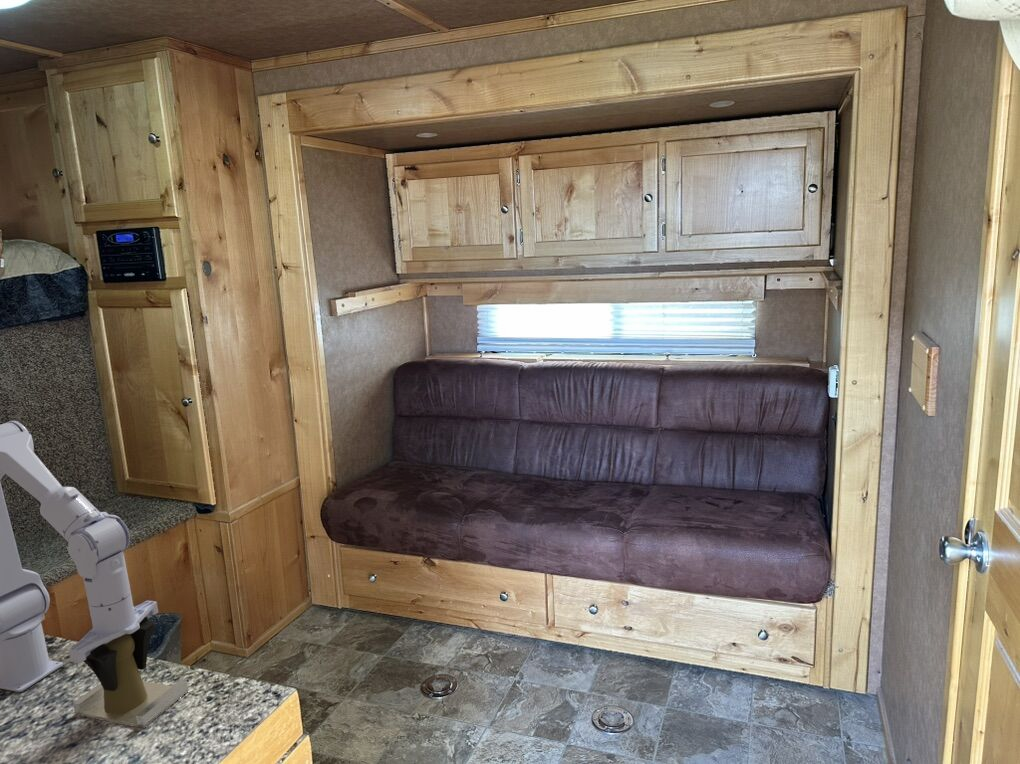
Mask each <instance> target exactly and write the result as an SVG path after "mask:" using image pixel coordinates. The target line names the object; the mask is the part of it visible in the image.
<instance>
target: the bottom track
mask: <svg viewBox="0 0 1020 764" xmlns="http://www.w3.org/2000/svg"><path fill="white" fill-rule="evenodd" d="M142 681H143V684H144V687H145V689H146V692H147V698H146V700H145V701H144V702H143V703H142V704H141V705H139V706H138V707H136V708H134V709H133V710H130V711H127V712H124V713H120V714H110V713H107V712H106V711H105V709H104V689H103V687H102V685H101V683H99V684H98V685H97V686H95V687H94V688H92V689H91V690H89V691H88V692H87V693H85V694H84V695H82V696H81V697H80V698H78V699H77V700H75V701H74V702H73V703H72V704H73V709H74V714H76V715H75V716H81V717H84V716H86V718H89V717H90V719H94V718H96V719H95V720H99V719H101V721H104V720H106V721H105V722H109V721H111V723H114V722H115V723H114V724H119V723H121V724H120V725H124V724H127V725H126V726H129V725H133V726H132V727H134V726H135V728H139V727H141V728H140V729H146V728H147V727H148V726H149V725H151V724H152V723H153V722H154V721H155V720H156V719H158V718H159V717H160V716H161V715H162V714H164V713H165V712H166V711H167V710H169V709H170V708H171V707H172V706H173V705H175V704H176V703H177V702H178V701H179V700H181V699H180V697H182V696H183V695H184V694H185V693H187V692H188V691H190V690H189V686H188V685H189V684H188V680H186V679H179V680H178V681H177V682H175V683H174V684H173V685H168V684H161V683H156V682H150V681H145V680H142ZM188 693H189V692H188ZM188 693H187V694H188ZM185 695H186V694H185ZM185 695H184V696H185ZM184 696H183V697H184ZM183 697H182V698H183ZM177 700H178V701H177ZM176 701H177V702H176ZM175 702H176V703H175ZM174 703H175V704H174ZM172 704H173V705H172ZM171 705H172V706H171ZM170 706H171V707H170ZM169 707H170V708H169ZM168 708H169V709H168ZM164 711H165V712H164ZM163 712H164V713H163ZM159 715H160V716H159ZM158 716H159V717H158ZM157 717H158V718H157ZM155 718H156V719H155ZM154 719H155V720H154ZM153 720H154V721H153ZM152 721H153V722H152ZM151 722H152V723H151ZM147 725H148V726H147ZM136 726H137V727H136ZM146 726H147V727H146ZM145 727H146V728H145Z"/></svg>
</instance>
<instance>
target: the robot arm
mask: <svg viewBox="0 0 1020 764" xmlns="http://www.w3.org/2000/svg"><path fill="white" fill-rule="evenodd" d="M34 450H35V447H34V441H33V436H32V434H31V433H29V430H28V429H27V428H26V426H24V424H22V423H21V422H19V421H18V420H9V421H6V422H5V423H2V424H0V481H1V480H2V478H3V477H4V476H5V475H6V476H7V477H8V478H10V479H11V480H13V481H14V482H15V483H16V484H18V485H19V486H20V487H21V488H22V489H24V490H25V491H26V492H27V493H29V495H31V496H32V497H33V498H35V499H36V500H37V501H38V502H40V507H39V513H40V515H41V516H42V517H43V519H44V520H45V521H47V523H49V524H50V526H52V527H53V529H55V531H57V533H59V535H60V536H62V537H63V539H65V540H66V542H68V544H67V546H66V549H67V553H68V555H69V556H70V557H69V558H71V560H72V561H73V562H74V564H75V567H76V571H77V574H78V575H79V577H81V578H82V579H83V584H84V588H85V593H86V598H87V603H88V608H89V614H90V618H91V625H92V628H91V629H90V630H89V631H88V632H87V633H86V634H85V635H84V636H83V637H82V638H81V639H80V640H79V641H78V642H77V643H76V644H74V645H73V646H72V647H70V648H69V649H68V655H69V659H70V662H72V663H78V664H82V663H84V664H86V666H88V668H90V670H91V671H92V672H93V674H94V675H95V676H96V678H97V679H98V681H99V684H101V685H102V687H103V689H104V690H109V691H115V690H116V689H117V687H118V682H117V676H116V655H117V651H115V650H109V648H108V647H106V645H105V644H107V643H108V642H110V641H111V640H113V639H115V638H118V637H120V636H122V635H124V634H130V635H131V636H132V637H133V639H134V642H135V649H134V651H133V653H132V654H133V656H134V659H135V662H136V665H137V667H138V670H141V671H142V670H146V669H147V661H148V660H147V659H148V651H149V646H150V643H151V639H152V636H153V633H154V631H155V629H156V622H155V621H154V620H149V619H148V617H150V616H154V615H157V614H158V613H159V608H158V602H157V601H154V600H146V601H143V602H142V603H140V604H138V605H135V606H134V603H133V602H134V601H133V597H132V596H133V595H132V590H131V584H130V579H129V574H128V569H127V564H126V560H125V559H126V558H125V552H124V550H127V549H128V548H129V546H130V543H131V535H130V534H131V533H130V530H129V528H128V526H127V524H126V523H125V522H124V521H123V520H122V519H121V517H119V516H118V515H115V514H110V513H108V512H107V511H100V510H99V509H98V508H96V507H95V506H94V505H93V504H92V502H90V501H89V500H88V498H86V497H85V496H84V495H83V494H82V493H81V492H80V491H79V490H78V489H77V488H76V487H74V486H62V484H61V483H60V482H59V480H57V478H56V477H55V475H53V474H52V472H51V471H50V470H49V469H48V468H47V467H46V465H45V464H44V463H43V462H42V460H41V459H40V458H39V457H38V455H36V453H35V451H34ZM9 515H10V514H9V511H8V507H7V504H6V499H5V496H4V491H3V488H2V483H1V482H0V689H2V690H7V691H11V692H12V691H13V692H16V693H22V692H24V691H25V690H27V689H28V688H29V687H32V686H33V685H34V684H36V683H37V682H39V681H41V680H42V679H44V678H45V677H47V676H48V675H50V674H52V673H53V672H55V671H57V670H58V669H59V668H61V667H63V665H64V664H63V662H62V661H57V660H56V661H55V660H51V659H50V657H49V653H48V648H47V644H46V639H45V633H44V629H43V624H42V621H44V620H45V619H46V618H45V613H47V611H48V610H49V608H50V602H51V600H50V599H51V598H50V594H49V591H48V590H47V588H46V587H45V585H44V583H43V581H42V579H41V576H40V574H39V573H37V571H33V570H30V569H26V568H25V569H24V568H23V566H22V562H21V559H20V555H19V551H18V547H17V542H16V539H15V534H14V531H13V526H12V523H11V519H10V516H9Z"/></svg>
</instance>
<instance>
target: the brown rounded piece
mask: <svg viewBox="0 0 1020 764" xmlns="http://www.w3.org/2000/svg"><path fill="white" fill-rule="evenodd" d="M105 645H106V647H108V648H109V650H115V651H117V655H116V676H117V682H118V687H117V689H116V690H115V691H109V690H104V709H105V711H106V712H107V713H110V714H120V713H124V712H127V711H130V710H133V709H134V708H136V707H138V706H139V705H141V704H142V703H143V702H144V701H145V700H146V698H147V692H146V689H145V687H144V684H143V681H144V680H143V679H142V676H141V674H140V671H139V670H140V669H138V667H137V665H136V662H135V659H134V656H133V654H132V653H133V651H134V649H135V642H134V639H133V637H132V636H131V635H130V634H124V635H122V636H120V637H118V638H115V639H113V640H111V641H110V642H108V643H107V644H105Z"/></svg>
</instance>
